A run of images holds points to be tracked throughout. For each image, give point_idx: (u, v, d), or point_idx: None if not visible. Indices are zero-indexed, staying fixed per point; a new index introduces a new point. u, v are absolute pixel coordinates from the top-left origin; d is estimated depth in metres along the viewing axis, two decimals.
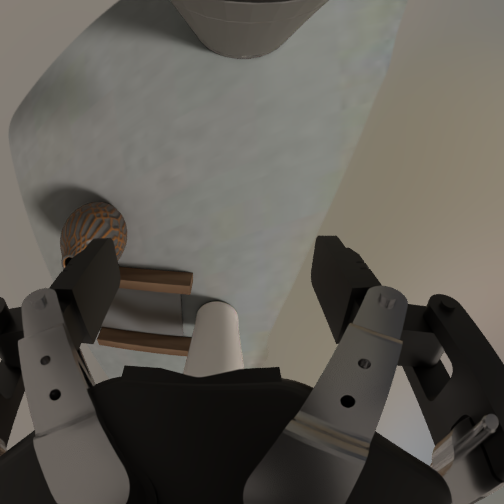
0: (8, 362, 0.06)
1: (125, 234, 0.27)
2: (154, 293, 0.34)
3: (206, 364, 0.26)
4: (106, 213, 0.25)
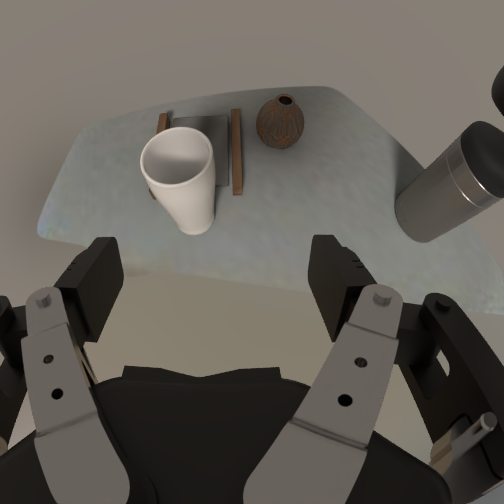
0: (11, 361, 0.06)
1: (283, 144, 0.39)
2: (217, 165, 0.40)
3: None
4: (301, 133, 0.39)
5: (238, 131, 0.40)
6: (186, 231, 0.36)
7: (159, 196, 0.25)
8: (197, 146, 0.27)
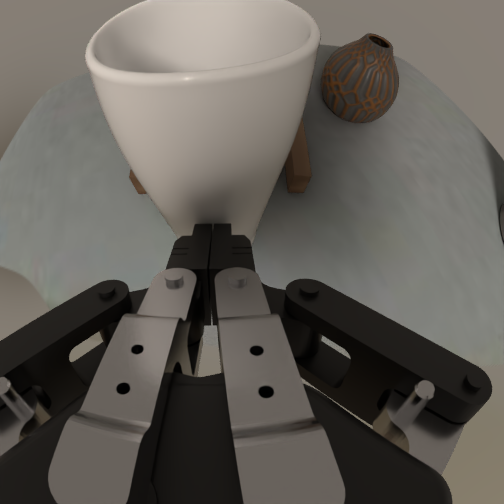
0: None
1: (369, 114, 0.21)
2: None
3: None
4: None
5: None
6: None
7: (133, 145, 0.07)
8: (249, 45, 0.09)
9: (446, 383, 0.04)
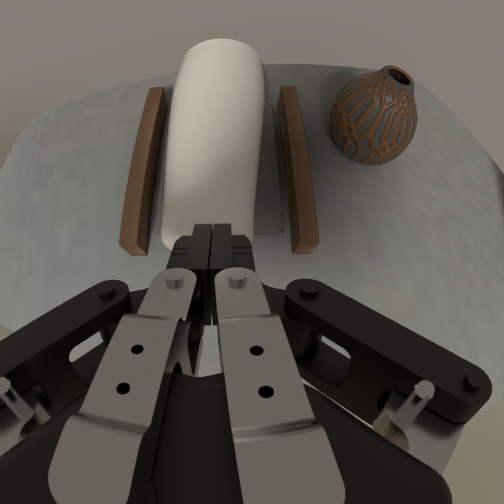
0: None
1: (382, 158, 0.20)
2: (259, 188, 0.21)
3: None
4: None
5: (299, 125, 0.20)
6: (181, 204, 0.14)
7: (188, 63, 0.16)
8: None
9: (446, 383, 0.04)
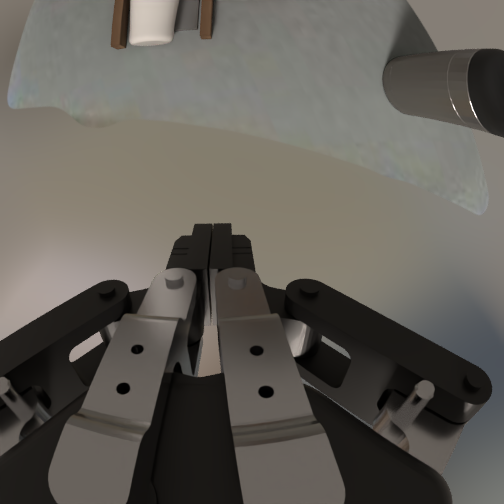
0: None
1: None
2: (186, 8, 0.25)
3: None
4: None
5: None
6: (135, 28, 0.23)
7: None
8: None
9: (446, 383, 0.04)
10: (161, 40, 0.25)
